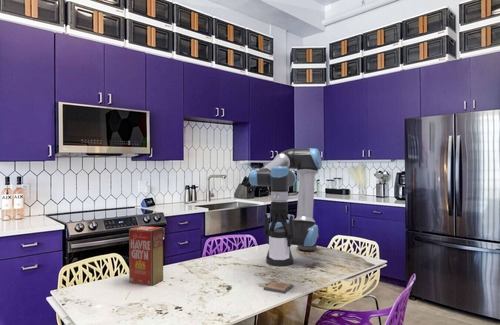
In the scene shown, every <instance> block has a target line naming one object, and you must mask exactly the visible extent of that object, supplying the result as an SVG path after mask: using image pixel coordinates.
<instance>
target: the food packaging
mask: <svg viewBox="0 0 500 325" xmlns="http://www.w3.org/2000/svg"><path fill="white" fill-rule="evenodd" d="M128 241H129V242H128V249H129V250H128V256H129V258H128V259H129V260H128V264H129V265H128V271H129V272H128V274H129V275H128V277H129V279H128V280H129V284H130V283H131V284H138V285H142V286H143V285H144V286H150V287H151V286H152V287H153V286H155V285H156V284H159V283H161V282H162V281H164V227H163V226H162V227H160V226H145V225H138V226H135V227H132V228H129V229H128Z"/></svg>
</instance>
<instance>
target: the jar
mask: <svg viewBox="0 0 500 325" xmlns="http://www.w3.org/2000/svg"><path fill="white" fill-rule="evenodd" d="M286 240H287V232H285V231H284V229H274V230H270V236H269V244H268V250H269V257H270V258H272V259H273V260H285V259H288V258H289V254H287V255H286Z"/></svg>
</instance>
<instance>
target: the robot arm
mask: <svg viewBox="0 0 500 325" xmlns="http://www.w3.org/2000/svg"><path fill="white" fill-rule="evenodd" d="M321 155H322V154H321V152H320V150H319V149H318V148H311V147H308V148H307V147H306V148H289V149H286V150H284V151H282V152H280V153H278V154H277V155H275V156H274V158H273V160H271V161H270V162H269V163H267V164H266V165H264V166H263V167H262V168H260V169H256V170H251V171H250V172H249V175H248V182H249V184H250V186H255V187H270V200H271V202H270V212H269V213H268V212H267V213H264V215H263V216H264V225H263V226H264V227H263V233H262V234H263V236H265V237H267V241H266V242H267V245H269V236H270V230H274V229H284V231H285V232H287V240H286V255H287V254H289V258H288V259H285V260H273V259H272V258H270V257H269V249H268V250H267V254H266V257H265V263H266V264H267V265H270V266H276V267H283V266H284V267H286V266H291V265H293V264H294V258H293V254H292V250H291V247H292V246H297V247H298V246H313V245H314V244H315V243H316V244H317V242H316V240H317V241H318V238H317V236H318V235H319V227H318V226H319V225H317V224H316V223H315V222H316V221H315V219H314V199H315V198H314V197H315V184H316V182H315V181H316V175H317V174H318V173H319V170H321V169H322V167H323V166H322V165H323V164H322V156H321ZM289 169H291V170H292V169H293V170H296V172H297V174H298V175H299V176H298V177H299V179H298V190H297V191H298V192H297V194H298V195H297V209H296V210H297V211H296V216H295V215H294V214H289V212H288V211H289V210H288V209H289V202H288V200H289V188H290V187H292V186H294V185H295V184H296V182H297V175H296V173H295V172H294V171H291V170H289ZM295 217H296V218H295ZM270 219H271V220H272V221H271V220H270ZM270 221H271V222H270ZM315 224H316V225H315Z"/></svg>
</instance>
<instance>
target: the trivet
mask: <svg viewBox="0 0 500 325" xmlns="http://www.w3.org/2000/svg"><path fill="white" fill-rule="evenodd" d="M293 287H294V284H290V283H286V282H285V283H284V282H282V281H281V282H280V281H271V282H270V283H268V284H267V285H265V286H264V287H263V290H264V291H269V292H275V293H280V294H286V293H287V292H288V291H290V290H292V288H293Z"/></svg>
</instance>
